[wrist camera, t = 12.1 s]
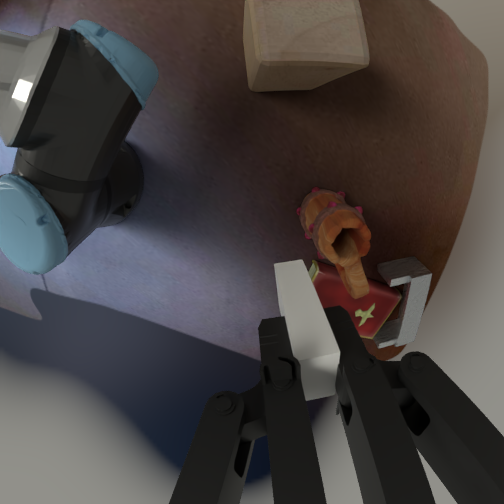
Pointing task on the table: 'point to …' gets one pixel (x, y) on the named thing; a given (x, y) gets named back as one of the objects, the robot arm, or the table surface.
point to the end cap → (404, 300)
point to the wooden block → (302, 43)
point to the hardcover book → (361, 309)
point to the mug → (337, 235)
